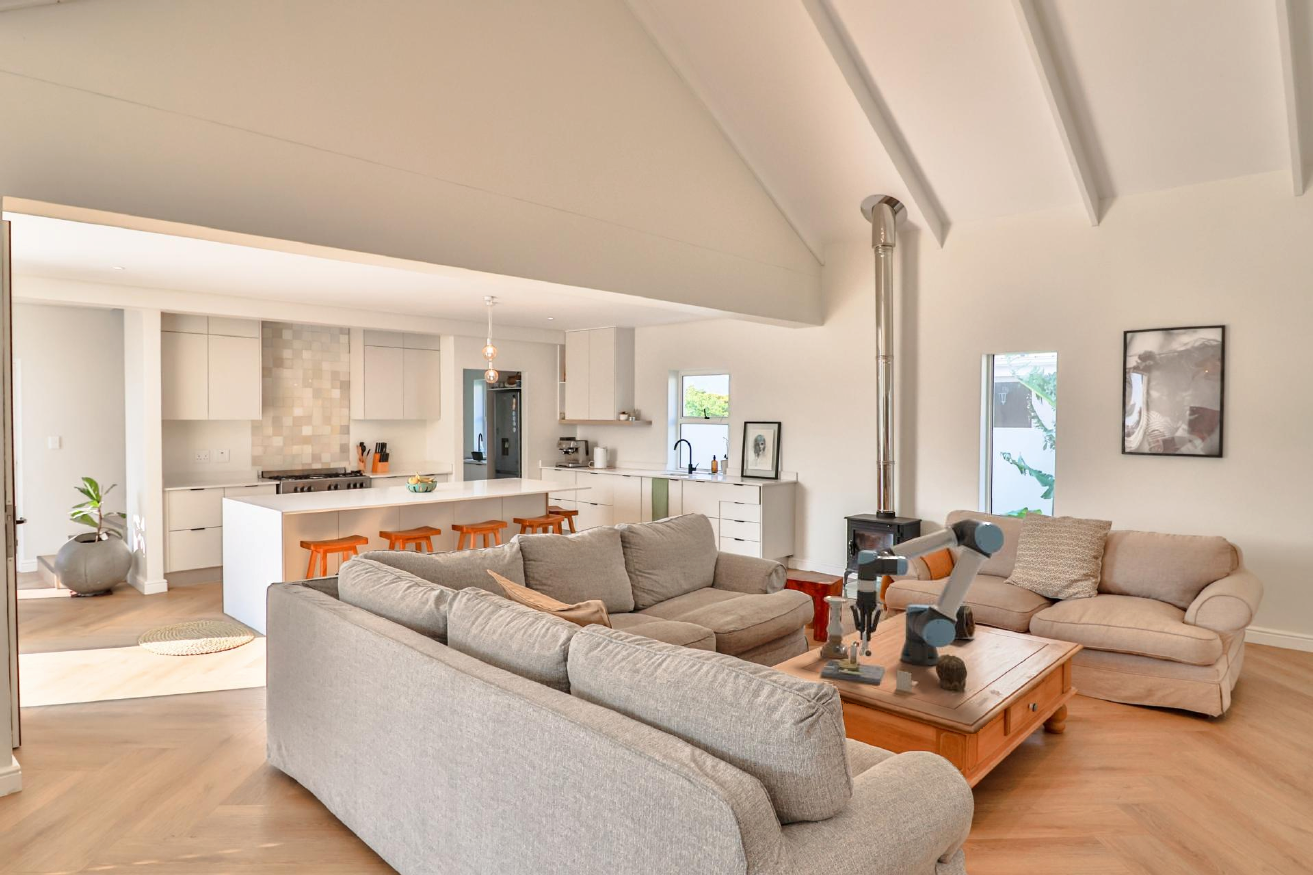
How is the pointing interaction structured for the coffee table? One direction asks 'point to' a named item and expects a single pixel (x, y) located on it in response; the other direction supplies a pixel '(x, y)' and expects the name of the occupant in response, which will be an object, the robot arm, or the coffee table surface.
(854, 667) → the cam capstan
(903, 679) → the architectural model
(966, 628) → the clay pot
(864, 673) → the stand
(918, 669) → the coffee table surface
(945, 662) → the dark brown rounded lump
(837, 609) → the candle holder
